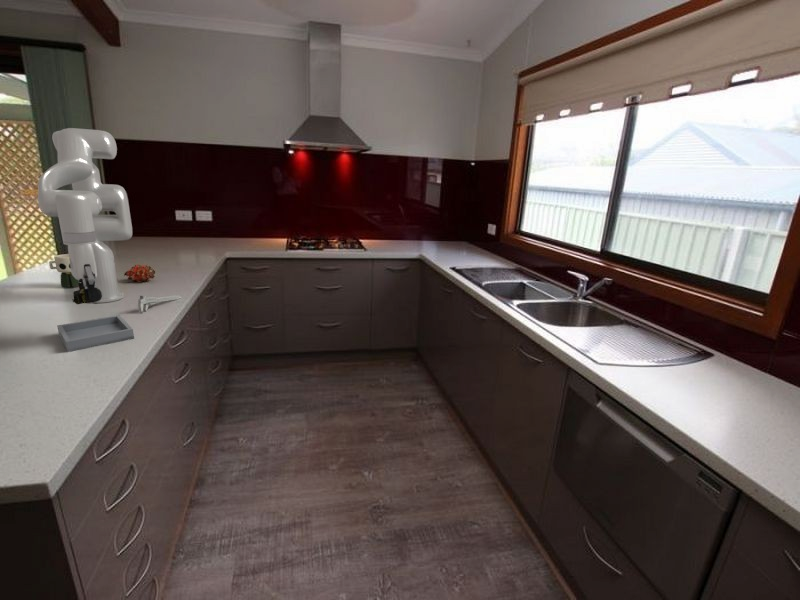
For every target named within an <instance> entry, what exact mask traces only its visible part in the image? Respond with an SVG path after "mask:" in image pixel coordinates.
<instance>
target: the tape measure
mask: <svg viewBox="0 0 800 600" xmlns="http://www.w3.org/2000/svg"><path fill="white" fill-rule="evenodd" d="M72 294H73V298H72V303H74V304H76V305H81V304H92V303H93V302H89V303H87V302H86V301H85V295H84V290H83V289H81V290H79V289H77V290H74V291H73V292H72ZM98 294H99V300H101V298H102V293H101V291H100V289H98ZM96 302H97V301H96ZM93 304H94V303H93Z"/></svg>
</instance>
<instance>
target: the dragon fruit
mask: <svg viewBox="0 0 800 600" xmlns="http://www.w3.org/2000/svg"><path fill="white" fill-rule="evenodd" d="M155 274H156V271H155V270H154V268H152V267H151V266H149V265H147V264H145V263H142V265H141V264H134V266H131V268H130V269H128V270H127V271H125V272H124V275H123V276H124V277H125V276H126V277H127V280H129V281H132V282H137V283H140V284H141V283H142V282H143V281H144V282H145V283H147V282H149V279H154V278H155V277H156V276H155Z"/></svg>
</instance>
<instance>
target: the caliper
mask: <svg viewBox="0 0 800 600" xmlns="http://www.w3.org/2000/svg"><path fill="white" fill-rule="evenodd" d="M182 298H183V297H182V296H180V295H178V294H177V295H169V296H162V297H155V296H151V297H147V296H146V295H144V294H143V295H139V298H138V301H137V307H138V313H140V314H143V313H147V311H148V308H149V305H150V306H153V305H154V306H156V304H157V303H163V302H169V301H177V300H179V299H182Z"/></svg>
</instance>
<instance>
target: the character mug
mask: <svg viewBox="0 0 800 600" xmlns="http://www.w3.org/2000/svg"><path fill="white" fill-rule="evenodd" d="M53 259H54V260H50V261H49V262H48V264H49V269H50V270H56V272H58V273H61V274H60V287H62V288H70V287H73V288H76V287H79V285H78V283H79V281H78V280H77V279H75V278H74V276H73V275H72V273H71V266H70V259H69V253H67V254H64V253H63V254H57V255H54V257H53ZM54 264H55V266H53V265H54Z"/></svg>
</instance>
